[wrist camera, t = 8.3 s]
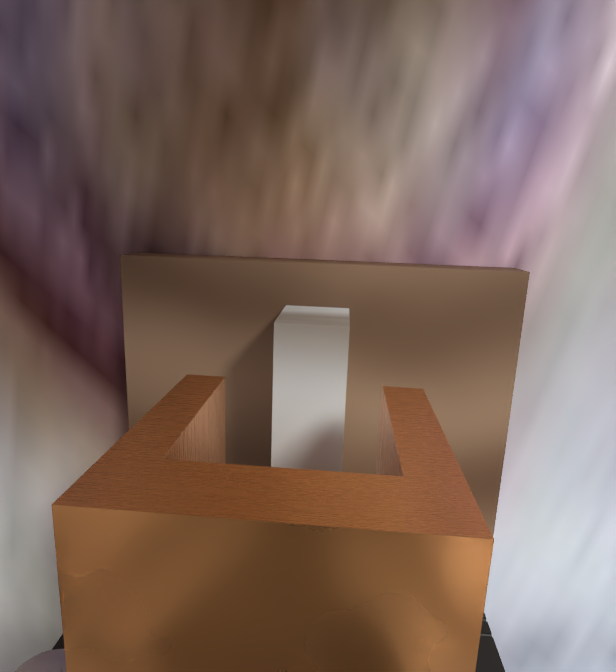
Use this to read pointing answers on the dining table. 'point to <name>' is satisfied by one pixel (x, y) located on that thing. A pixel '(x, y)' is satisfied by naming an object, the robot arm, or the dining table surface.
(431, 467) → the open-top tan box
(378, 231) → the dining table surface
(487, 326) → the rail board
